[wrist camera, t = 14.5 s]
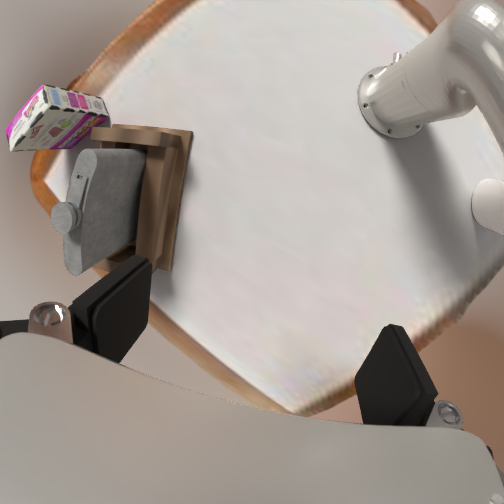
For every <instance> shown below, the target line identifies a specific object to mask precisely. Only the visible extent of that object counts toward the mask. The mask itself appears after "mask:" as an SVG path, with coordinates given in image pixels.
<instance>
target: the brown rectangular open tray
mask: <svg viewBox="0 0 504 504" xmlns="http://www.w3.org/2000/svg"><path fill="white" fill-rule="evenodd" d="M192 133H193V132H192V131H185V130H177V129H168V128H159V127H148V126H136V125H121V124H113V125H112V128H109V127H92V131H91V137H90V140H101V142H100V148H99V149H140V150H148V151H147V157H146V163H145V170H144V177H143V184H142V191H141V199H140V208H139V217H138V228H137V239H135V240H134V241H132V242H130V243H129V244H127V245H125V246H124V247H122V248H120V249H119V250H117V251H116V252H114V253H112V254H111V255H109V256H108V257H106V258H104V259H103V260H101V261H100V262H98V263H97V264H95V265H94V266H92V267H95V268H99V269H102V270H105V271H108V272H111V271H112V270H114V269H115V268H116V267H118V266H119V265H120V264H122V263H123V262H125V261H126V260H127V259H129V258H130V257H131V256H133V255H138V256H142V257H145V258H148V259H149V263H151V264H152V273H153V272H154V271H155V270H156V269H157V268H160V269H163V270H167V271H170V270H171V267H172V258H173V249H174V241H175V233H176V226H177V219H178V212H179V205H180V199H181V192H182V186H183V180H184V174H185V169H186V163H187V158H188V153H189V147H190V142H191V137H192Z"/></svg>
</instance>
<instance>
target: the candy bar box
mask: <svg viewBox="0 0 504 504" xmlns="http://www.w3.org/2000/svg"><path fill="white" fill-rule="evenodd" d="M108 117H109V115H108V112H107V110H106V107H105V105H104V102H103V99H102V98H100V97H96V96H92V95H88V94H84V93H81V92H76V91H72V90H68V89H63V88H59V87H54V86H50V85H45V84H42V85H41V86H40V88H39V89H38V90H37V91H36V92H35V93H34V94H33V96H32V97H31V98H30V99H29V100H28V101H27V103H26V104H25V105H24V106H23V107H22V109H21V110H20V111H19V112H18V114H17V115H16V116H15V118H14V119H13V120H12V121H11V123H10V124H9V126H8V127H7V128H6V135H7V139H8V143H9V147H10V151H11V152H14V151H26V150H46V149H71V148H72V147H73V146H74V145H76V144H77V143H78V142H79V141H80V140H81V139H82V138H83V137H85V136H86V135H87V134H88V133H89V132H91V131H92V127H97V126H98V125H99V124H100V123H102V122H103V121H104V120H106V119H107V118H108Z"/></svg>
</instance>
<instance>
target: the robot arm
mask: <svg viewBox="0 0 504 504" xmlns="http://www.w3.org/2000/svg"><path fill="white" fill-rule="evenodd" d="M368 76H369V77H370V78H371V79H370V78H369V77H368ZM358 102H359V107H360V109H361V112H362V114H363V115H364V117H365V119H366V120H367V121H368V123H369V124H370V125H371V126H372V127H373V128H374V129H376V130H377V131H378V132H380V133H382V134H384V135H386V136H388V137H392V138H406V137H410V136H412V135H414V134H416V133H417V132H418V131H419V130H420V129H421V128H422V126H423V125H424V124H426V123H431V122H436V121H441V120H447V119H453V118H458V117H462V116H464V115H466V114H468V113H469V112H470V111H471V110H472V109H473V108H474V107H475V105H477V106H478V108H479V110H480V112H481V113H482V114H483V115H484V117H485V119H486V121H487V123H488V124H489V126H490V128H491V130H492V132H493V134H494V136H495V138H496V140H497V142H498V144H499V146H500V148H501V150H502V153H503V155H504V7H503V6H501V5H500V4H499V3H497V2H495V1H493V0H462V1H460V2H459V3H457V4H456V5H454V6H453V7H452V8H451V9H450V10H449V11H448V13H447V14H446V15H445V16H444V18H443V19H442V21H441V22H440V23H439V25H438V26H437V27H436V29H435V30H434V31H433V32H432V33H431V34H430V35H429V36H428V37H427V38H426V39H425V40H424V41H422V42H421V43H420V44H419V45H417V46H416V47H415V48H414V49H412V50H411V51H410V52H407V53H406V55H405V56H403V57H402V58H401V54H399V53H394V54H393V63H391V64H390V65H389V66H381V67H376V68H374V69H372V70H370V71H369V72H368V73H366V74H365V75H364V77H363V78H362V80H361V82H360V84H359V87H358ZM363 105H365V107H366V108H364V107H363ZM415 126H416V127H415ZM388 130H389V133H388ZM151 276H152V264H151V263H149V259H148V258H145V257H142V256H138V255H133V256H131V257H130V258H129V259H127V260H126V261H125V262H123V263H122V264H120V265H119V266H118V267H116V268H115V269H114V270H112V271H111V272H110V273H108V274H107V275H106V276H104V277H103V278H102V279H101V280H99V281H98V282H97V283H95V284H94V285H93V286H91V287H90V288H89V289H88V290H86V291H85V292H84V293H83V294H81V295H80V296H79V297H78V298H76V299H75V300H74V301H73V304H72V305H70V306H69V307H68V308H67V307H66V306H65V305H63V304H61V303H58V302H43V303H41V304H38V305H37V306H35V307H34V308H33V309H32V310H31V312H30V315H29V316H30V317H29V319H28V320H14V321H0V504H504V474H503V472H502V471H501V470H500V469H499V468H498V467H497V465H495V463H494V459H493V455H492V454H493V453H492V450H491V449H490V448H489V447H488V446H486V445H485V444H484V443H483V441H482V440H481V439H479V438H478V437H477V436H475V435H473V434H471V433H469V432H466V431H464V430H463V429H461V428H462V424H463V416H462V414H461V412H460V410H459V409H458V408H457V406H455V405H454V404H452V403H451V402H449V401H446V400H439V401H437V402H436V403H435V402H434V399H435V397H436V396H437V395H438V392H437V390H436V388H435V386H434V384H433V382H432V380H431V378H430V376H429V374H428V372H427V370H426V368H425V366H424V364H423V363H422V360H421V359H420V357H419V355H418V353H417V351H416V349H415V347H414V346H413V344H412V342H411V340H410V338H409V337H408V335H407V333H406V331H405V330H404V328H403V327H402V326H398V325H393V324H389V325H388V326H387V327H386V326H385V327H384V328H383V329H382V331H381V333H380V334H379V336H378V338H377V340H376V342H375V343H374V345H373V347H372V349H371V351H370V352H369V354H368V356H367V357H366V359H365V361H364V362H363V364H362V366H361V367H360V369H359V371H358V372H357V374H356V376H355V381H354V382H355V387H356V392H357V396H358V400H359V405H360V410H361V414H362V420H363V424H358V423H347V422H338V421H329V420H321V419H314V418H308V417H302V416H296V415H290V414H284V413H279V412H274V411H269V410H264V409H260V408H255V407H251V406H246V405H242V404H238V403H234V402H230V401H226V400H223V399H219V398H216V397H212V396H208V395H205V394H202V393H198V392H195V391H192V390H189V389H186V388H182V387H180V386H177V385H174V384H171V383H168V382H165V381H162V380H159V379H157V378H154V377H151V376H148V375H146V374H143V373H141V372H138V371H136V370H133V369H131V368H129V367H126V366H124V365H121V364H119V363H120V362H121V360H122V359H123V358H124V356H125V355H126V354H127V352H128V350H130V348H131V347H132V346H133V344H134V343H135V341H136V340H137V339H138V337H139V336H140V335H141V333H142V332H143V331H144V329H145V328H146V325H147V323H148V312H149V299H150V287H151Z"/></svg>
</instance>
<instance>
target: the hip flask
mask: <svg viewBox="0 0 504 504" xmlns="http://www.w3.org/2000/svg"><path fill="white" fill-rule="evenodd" d="M147 151H148V150H140V149H84V150H83V151H81V152H80V154H79V155H78V158H77V160H76V163H75V166H74V169H73V172H72V175H71V179H70V183H69V188H68V192H67V198H66V202H62V203H58V204H56V205H55V206H54V207H53V209H52V212H51V220H52V225H53V227H54V228H55V230H56V231H57V232H58V233H60V234H63V251H64V262H65V266H66V268H67V270H68V271H69V273H71V274H72V275H74V276H78V275H80V274H81V273H83V272H84V271H86V270H87V269H89V268H90V267H92V266H94V265H95V264H97V263H98V262H100V261H101V260H103V259H104V258H106V257H108V256H109V255H111V254H112V253H114V252H116V251H117V250H119V249H120V248H122V247H124V246H125V245H127V244H129V243H130V242H132V241H134V240H135V239H137V228H138V217H139V208H140V199H141V191H142V184H143V177H144V170H145V163H146V157H147Z"/></svg>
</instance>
